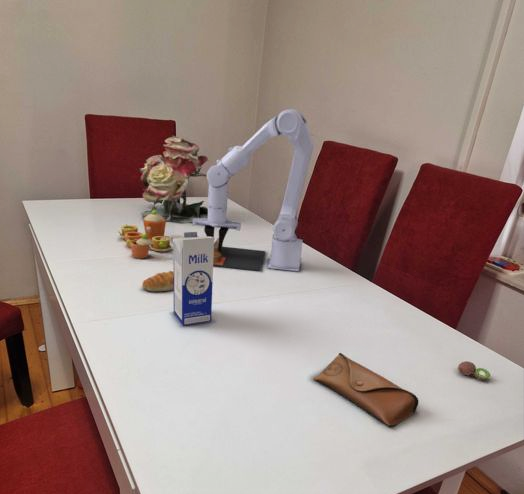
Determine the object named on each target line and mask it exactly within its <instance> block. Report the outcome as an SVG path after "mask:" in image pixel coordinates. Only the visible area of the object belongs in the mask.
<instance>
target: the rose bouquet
mask: <svg viewBox="0 0 524 494" xmlns="http://www.w3.org/2000/svg"><path fill="white" fill-rule="evenodd" d="M164 142H165V143H166V144H163V147H164V151H163V152H162V153H163V156H162V155H161V154H157V155H152V156H149V157H148V158H147V159H145V162H146V163H144V164H143V166H144V167H142V168H141V167H140V168H138V169H139V171H140V173H141V174H142V175H141V176H140V181H141V183H142V185H143V187H144V188H143V189H142V191H144V192H143V193H142V198H143V199H144V201H146V202H148V203H153V205H152V207H151V209H152V210H148V211H144V212H141V213H140V214H141V216H142V218H143V219H144V218H145V217H146V216H147V215H149V214H152V211H153V210H155V211H156V212H157V213H156V214H159V215H161V216H162V217H163V218H165V219H166V222H172V223H173V222H174V223H179V224H183V223H193V219H194V218H201V216H200V213H206V214H208V207H206V206H203V203H204V202H205V200H202V201H199V202H194V203H190V204H187V188H188V184H189V182H190V177H191V178H196V177H204V178H205V177H206V178H207V174H205V173H202V172H201V170H202V168H203V166H204V164H206V163H207V162H208V161H209V158H208V156H207V155H198V153H199V151H200V146H199V144H196V143H193V142H191V141H188V140H185V138H183V137H181V136H175V135H172V137H171V136H170V137H168V138H166V139H165V140H164ZM181 199H182V203H181ZM157 204H160V205H158V206H156V205H157Z"/></svg>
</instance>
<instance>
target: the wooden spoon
mask: <svg viewBox="0 0 524 494" xmlns="http://www.w3.org/2000/svg"><path fill="white" fill-rule="evenodd" d="M218 245H219V237H217V238H216V240H215V241H214V257H213V263H217V262H220V261H221V254H220V251H218ZM222 247H224V243H223V244H222ZM221 249H222V248H221Z"/></svg>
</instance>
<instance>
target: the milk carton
mask: <svg viewBox="0 0 524 494" xmlns="http://www.w3.org/2000/svg"><path fill="white" fill-rule="evenodd" d="M172 242H173V243H172V251H173V252H172V259H173V260H172V261H173V262H172V264H173V265H172V267H173V268H172V269H173V270H172V271H173V287H174V290H173V314H174V315H175V317H176V319H177V320H178V321H179V323H180V325H182V327H186V326H191V325H197V324H205V323H211V322H212V313H213V312H212V311H213V310H212V309H213V284H214V282H213V281H214V280H213V279H214V266H213V257H214V243H215V236H214V237H207V236H198V231H188V232H187V231H186V232H183V237H176V238H175V237H174V238H172Z"/></svg>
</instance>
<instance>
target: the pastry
mask: <svg viewBox="0 0 524 494" xmlns="http://www.w3.org/2000/svg"><path fill="white" fill-rule="evenodd" d="M141 286H142V288H143V289H144V290H146V291H148V292H154V293H157V292H169V291H174V287H173V270H169V271H167V272H165V271H164V272H158V273H155V275H152V276H149V277H148V278H146V279H144V280H143V281H142V285H141Z"/></svg>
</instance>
